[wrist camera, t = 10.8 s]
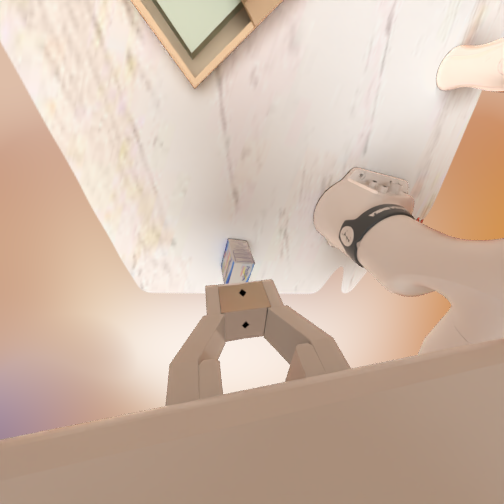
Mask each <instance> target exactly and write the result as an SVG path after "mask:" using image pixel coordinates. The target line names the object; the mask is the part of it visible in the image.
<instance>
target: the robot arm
mask: <svg viewBox="0 0 504 504" xmlns="http://www.w3.org/2000/svg"><path fill="white" fill-rule="evenodd" d="M360 174H361V175H360ZM359 175H360V176H359ZM413 208H414V199H413V197H411V196H410V195H408V182H407V181H405V180H403V179H400V178H396V177H392V176H388V175H384V174H381V173H377V172H373V171H369V170H365V169H362V168H358V167H356V168H353V169H352V170H351V171H350V172H349V173H348V174H347V175H346V176H345V177H344V179H342V180H341V181H340V182H338V183H336V184H335V185H333V186H332V187H331V188H329V189H328V190H327V191H326V192H325V193H324V194H323V196H322V197H321V198H320V200H319V202H318V204H317V206H316V208H315V212H314V225H315V228H316V229H317V231H318V232H319V233H320V234H321V235H323V236H324V237H325V238H326V240H327V242H328V244H329V245H330V246H332V247H337V248H338V249H339V250H341V251H342V252H343V253H344V254H346V255H347V256H348V257H351V258H352V260H353V261H354V262H355V263H357V264H358V265H359V266H361V267H363V268H365V269H366V270H367V271H368V272H369V273H370V274H371V275H372V276H373V277H374V278H375V279H376V280H377V281H378V282H379V283H380V284H381V285H382V286H383V287H384V288H385V289H387V290H388V291H390V292H392V293H394V294H397V295H401V296H407V297H413V296H420V295H424V294H427V293H430V292H433V291H437V292H438V293H440V294H441V295H443V296H444V297H445V298H447V299H448V301H449V302H450V303H451V307H450V309H449V310H448V312H447V313H446V314H445V315H444V316H443V317H442V319H441V320H440V321H439V322H438V323H437V324H436V326H435V327H434V328H433V329H432V330H431V331H430V333H429V334H428V335H427V336H426V337H425V339H424V341H423V343H422V345H421V348H420V350H419V352H418V355H416V356H411V357H406V358H401V359H396V360H392V361H386V362H382V363H376V364H372V365H367V366H362V367H357V368H352V369H351V368H350V366H349V364H348V363H347V361H346V359H345V358H344V356H343V354H342V352H341V351H340V349H339V347H338V346H337V344H336V342H335V340H334V339H333V337H331V336H330V335H328V334H327V333H326V332H324V331H323V330H321V329H320V328H318V327H317V326H316V325H314V324H313V323H311V322H310V321H309V320H307V319H306V318H304V317H303V316H301V315H300V314H299V313H297V312H296V311H294V310H293V309H291V308H290V307H289V306H287V305H286V306H284V305H283V302H282V300H281V298H280V296H279V293H278V291H277V289H276V286H275V284H274V282H273V280H272V279H269V280H261V281H252V282H242V283H232V284H218V285H208V286H206V287H205V291H206V307H207V315H206V316H203V317H202V319H201V320H200V321H199V323H198V324H197V326H196V327H195V329H194V330H193V332H192V333H191V334H190V336H189V337H188V339H187V340H186V342H185V343H184V345H183V346H182V348H181V349H180V350H179V352H178V353H177V355H176V356H175V358H174V359H173V361H172V362H171V363H170V366H169V376H168V386H167V396H166V406H164V407H159V408H154V409H150V410H144V411H139V412H135V413H130V414H125V415H120V416H115V417H110V418H105V419H100V420H95V421H90V422H85V423H80V424H75V425H70V426H66V427H60V428H55V429H51V430H46V431H41V432H36V433H31V434H26V435H21V436H16V437H11V438H6V439H1V440H0V504H504V238H502V239H495V240H478V241H477V240H465V239H459V238H455V237H451V236H448V235H446V234H443V233H441V232H438V231H436V230H434V229H432V228H430V227H428V226H426V225H424V224H422V222H423V220H421V221H420V222H419V218H417V220H415V219H414V217H413V216H412V215H411V214H412V212H413ZM259 336H264V338H265V339H266V340H267V341H268V342H269V343H270V344H271V345H272V346H273V347H274V348H275V349H276V350H277V351H278V352H279V354H280V355H281V356H282V357H283V358H284V359H285V360H286V361H287V362H288V363H289V364H290V368H289V371H288V374H287V378H286V381H285V382H283V383H277V384H272V385H267V386H263V387H258V388H253V389H248V390H243V391H238V392H233V393H228V394H223V390H222V380H221V371H220V362H219V361H218V358H219V356H220V354H221V352H222V349H223V347H224V345H225V342H227V341H232V340H238V339H243V338H251V337H259Z"/></svg>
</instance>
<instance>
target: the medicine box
mask: <svg viewBox="0 0 504 504" xmlns="http://www.w3.org/2000/svg"><path fill="white" fill-rule="evenodd" d="M254 264H255V262H254V259H253V257H252V254H251V251H250V249H249V246H248V244H247V241H243V240H235V239H228V241H227V245H226V249H225V253H224V257H223V260H222V264H221V269H222V275H223V281H224V284H232V283H242V282H248V280H249V278H250V275H251V272H252V269H253V267H254Z"/></svg>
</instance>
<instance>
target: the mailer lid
mask: <svg viewBox="0 0 504 504" xmlns="http://www.w3.org/2000/svg"><path fill="white" fill-rule="evenodd" d="M241 1H242V3H243V5H244V7H245V9H246V11H247V13H248V15H249V17H250V19H251V21H252V23H253V26H254V27H255V26H256V25H257V24H258V23H259V22H260V21H261V20H262V19H263V18H264V17H265V16H266V15H267V14H268V13H269V12H270V11H271V10H272V9H273V8H274V7H275V6H276V5H277V4H278V3H279V2H280V1H281V0H241Z"/></svg>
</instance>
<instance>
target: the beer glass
mask: <svg viewBox="0 0 504 504" xmlns="http://www.w3.org/2000/svg"><path fill="white" fill-rule="evenodd" d="M436 82H437V86H438V88H439V89H440V90H443V91H447V90H452V89H456V88H461V87H470V88H476V89H481V90H486V91H493V92H504V37H503V38H500V39H497V40H495V41H492V42H489V43H486V44H482V45H460V46H458V47H456V48H454V49H452V50H451V51H450V52H449V53H448V54H447V55H446V57H445V58H444V59H443V61H442V63H441V64H440V67H439V69H438V72H437V77H436Z"/></svg>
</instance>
